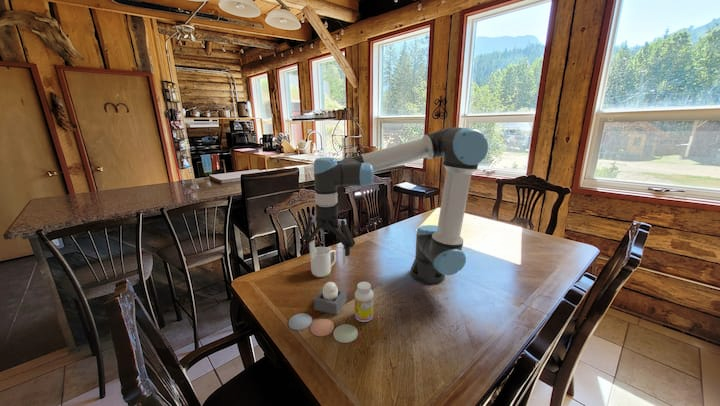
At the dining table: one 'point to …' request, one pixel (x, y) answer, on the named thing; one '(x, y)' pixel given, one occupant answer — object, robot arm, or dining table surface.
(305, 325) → the pad
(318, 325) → the pad
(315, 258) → the mug
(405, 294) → the dining table surface
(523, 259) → the dining table surface
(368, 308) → the supplement bottle
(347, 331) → the pad
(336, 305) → the housing
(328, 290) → the white ovoid
